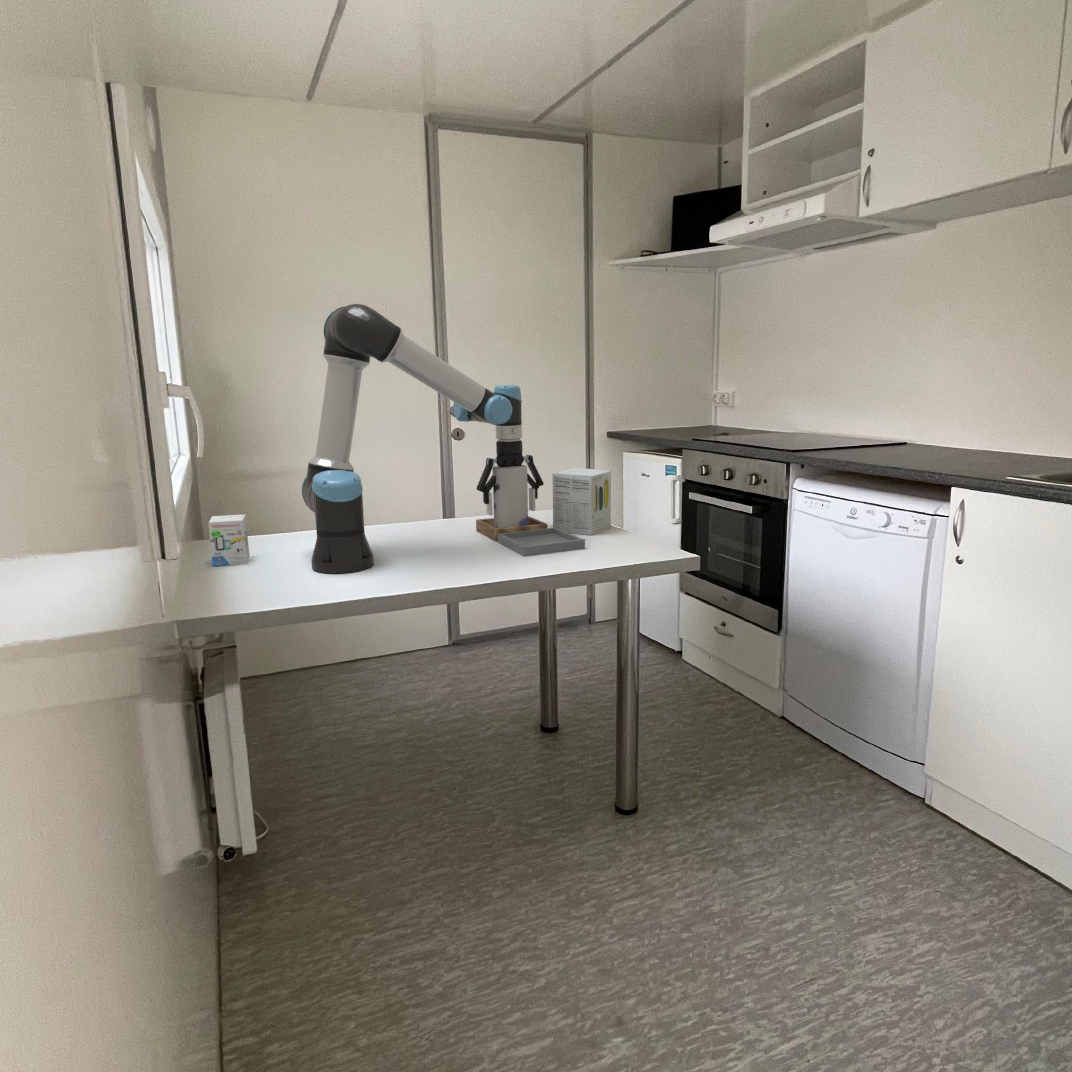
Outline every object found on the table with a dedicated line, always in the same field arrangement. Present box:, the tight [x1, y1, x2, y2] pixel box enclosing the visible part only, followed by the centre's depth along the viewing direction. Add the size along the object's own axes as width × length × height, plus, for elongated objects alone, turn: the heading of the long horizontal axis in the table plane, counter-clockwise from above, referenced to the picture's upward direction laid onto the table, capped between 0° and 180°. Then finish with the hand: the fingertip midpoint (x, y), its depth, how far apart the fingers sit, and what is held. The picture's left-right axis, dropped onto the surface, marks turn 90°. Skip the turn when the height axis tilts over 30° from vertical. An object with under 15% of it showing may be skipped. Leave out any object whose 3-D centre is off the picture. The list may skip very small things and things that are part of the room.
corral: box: [475, 515, 549, 543], centre depth 229 cm, size 16×16×4 cm
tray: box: [497, 526, 586, 557], centre depth 213 cm, size 18×18×2 cm
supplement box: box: [552, 467, 612, 536], centre depth 231 cm, size 13×13×18 cm
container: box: [492, 464, 529, 529], centre depth 227 cm, size 10×10×20 cm
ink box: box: [207, 514, 250, 567], centre depth 201 cm, size 9×8×12 cm
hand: (511, 512), depth 228 cm, fingers open, 13 cm apart
